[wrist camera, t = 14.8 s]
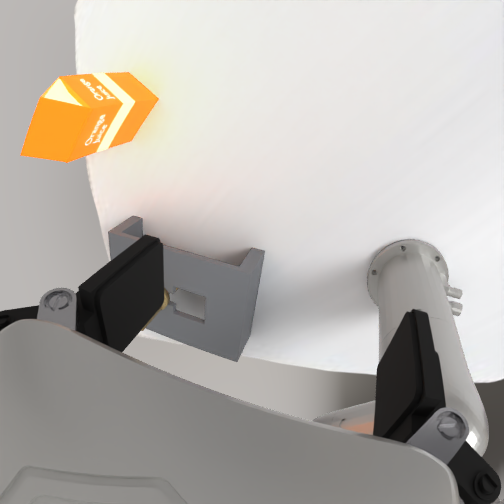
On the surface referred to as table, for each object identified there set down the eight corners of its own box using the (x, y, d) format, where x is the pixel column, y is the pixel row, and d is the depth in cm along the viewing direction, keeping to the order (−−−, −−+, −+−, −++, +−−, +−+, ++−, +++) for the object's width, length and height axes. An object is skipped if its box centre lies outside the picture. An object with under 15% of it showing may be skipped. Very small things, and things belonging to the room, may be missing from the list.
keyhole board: (264, 251, 50) (250, 274, 44) (249, 335, 59) (237, 362, 53) (132, 215, 54) (108, 231, 48) (138, 296, 63) (118, 316, 57)
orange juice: (159, 99, 43) (57, 115, 26) (131, 141, 48) (35, 176, 31) (128, 71, 42) (25, 79, 25) (103, 113, 47) (6, 138, 30)
